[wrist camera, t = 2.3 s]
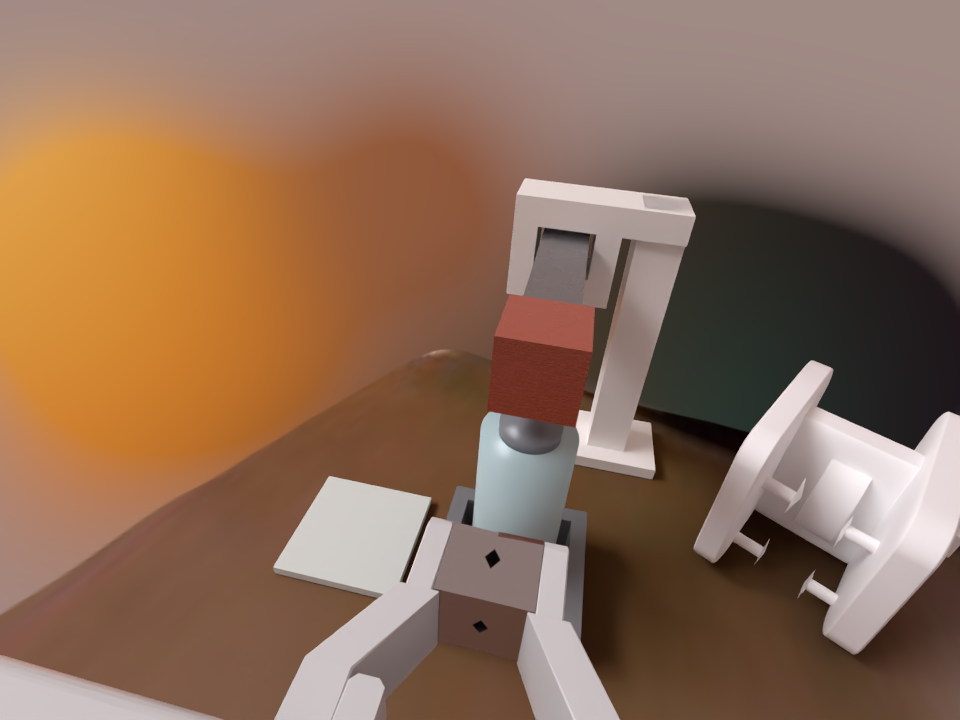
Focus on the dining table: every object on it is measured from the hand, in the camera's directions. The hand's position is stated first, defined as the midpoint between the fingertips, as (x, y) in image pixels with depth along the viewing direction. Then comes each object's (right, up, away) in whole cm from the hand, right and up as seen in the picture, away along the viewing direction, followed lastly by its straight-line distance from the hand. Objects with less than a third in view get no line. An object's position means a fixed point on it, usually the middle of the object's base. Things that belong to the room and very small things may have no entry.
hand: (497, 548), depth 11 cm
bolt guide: (+8, -3, +34) cm, 35 cm away
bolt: (+4, +7, +21) cm, 22 cm away
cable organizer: (+23, -10, +26) cm, 36 cm away
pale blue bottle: (+1, -10, +22) cm, 25 cm away
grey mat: (-9, -8, +25) cm, 27 cm away
